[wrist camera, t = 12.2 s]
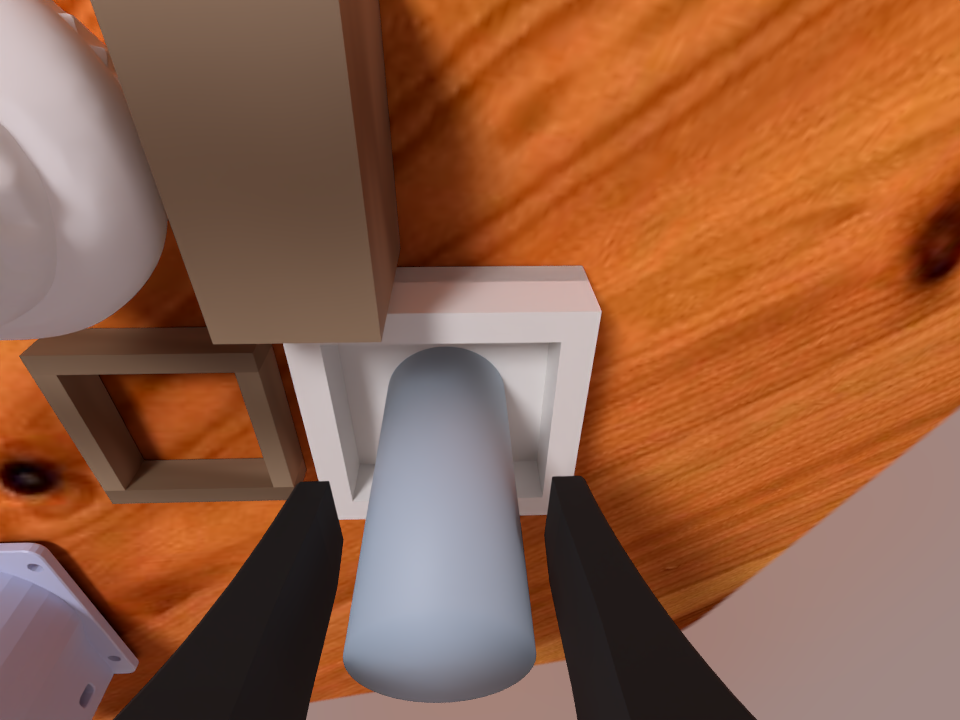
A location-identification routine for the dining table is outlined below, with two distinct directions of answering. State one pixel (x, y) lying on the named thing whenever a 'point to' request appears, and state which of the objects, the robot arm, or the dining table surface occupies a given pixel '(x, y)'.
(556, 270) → the dish
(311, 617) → the robot arm
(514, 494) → the dowel
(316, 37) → the block
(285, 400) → the socket
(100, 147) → the muffin
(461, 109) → the dining table surface
